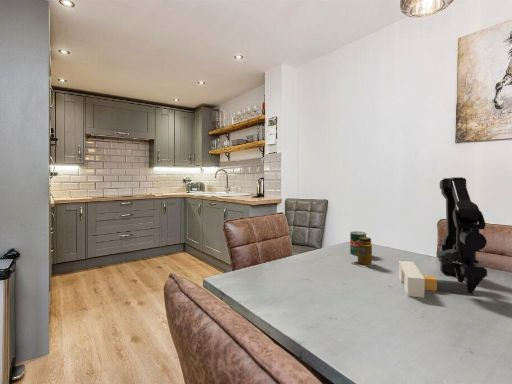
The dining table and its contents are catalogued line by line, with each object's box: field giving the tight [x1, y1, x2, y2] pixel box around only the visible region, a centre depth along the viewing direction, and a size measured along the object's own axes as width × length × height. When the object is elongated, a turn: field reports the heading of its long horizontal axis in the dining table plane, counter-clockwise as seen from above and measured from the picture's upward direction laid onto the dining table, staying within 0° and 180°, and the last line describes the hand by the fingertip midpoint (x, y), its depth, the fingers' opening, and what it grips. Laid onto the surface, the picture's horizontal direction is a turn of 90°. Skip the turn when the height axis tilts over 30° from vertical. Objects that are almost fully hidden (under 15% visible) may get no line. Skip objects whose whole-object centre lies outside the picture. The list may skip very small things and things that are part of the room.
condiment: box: [351, 236, 375, 268], centre depth 134 cm, size 7×8×12 cm
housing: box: [398, 260, 425, 299], centre depth 106 cm, size 5×20×6 cm, turn 161°
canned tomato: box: [349, 230, 367, 256], centre depth 151 cm, size 8×8×11 cm
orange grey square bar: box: [422, 274, 474, 295], centre depth 103 cm, size 15×4×4 cm, turn 71°
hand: (464, 287), depth 101 cm, fingers open, 9 cm apart
